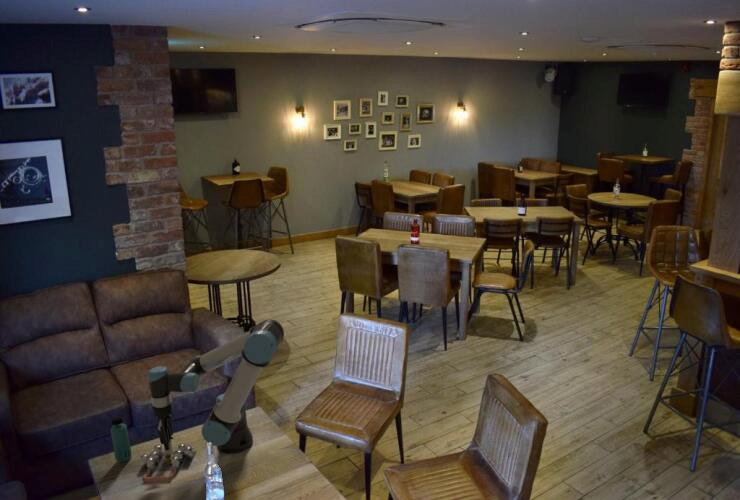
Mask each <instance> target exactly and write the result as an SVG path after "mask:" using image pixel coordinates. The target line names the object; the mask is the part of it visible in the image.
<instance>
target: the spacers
mask: <svg viewBox="0 0 740 500" xmlns="http://www.w3.org/2000/svg"><path fill="white" fill-rule="evenodd" d="M162 445H163V444H161V443H160V444H156V445H154V446H153V450H152V451H151V452H150V453H149V454H150V456H151V457H149V454H148V453H143V454H141V455H140V463H141V467H142V468H143V469H150V471H151V473H154V472H156V471H155V470H156V468H155V465H158V464H159V459H161V458H162V457H163V453H164V452H163V448H162V447H163V446H162ZM192 447H193V446H192V445H186V443H180V444H178V445H177V449H176V450H175V451H174V452H175V456H173V457H172V458H171V463H172V470H173V469H174V468H175V467H176V472H177V471H180V470H179V469H180V464H182V463H183V462H184V461H183V458H184V457H185V458H186V460H192V459H193V453H192V451H193V448H192ZM193 460H194V459H193Z"/></svg>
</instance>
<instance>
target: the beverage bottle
mask: <svg viewBox="0 0 740 500" xmlns="http://www.w3.org/2000/svg"><path fill="white" fill-rule="evenodd" d="M123 422H124V420H123V417H122V416H121V415H118V416H115V417H113V418H112V419H111V424H112V426H111V428H110V433H111V439H112V440H111V441H112V446H113V452H114V453H113V454H114V459H115V461H116V462H118V463H121V462H122V463H123V462H127V461H129V460H131V458H132V450H131V443H130V439H129V438H130V437H129V432H128V426H127V424H125V423H123Z"/></svg>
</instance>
